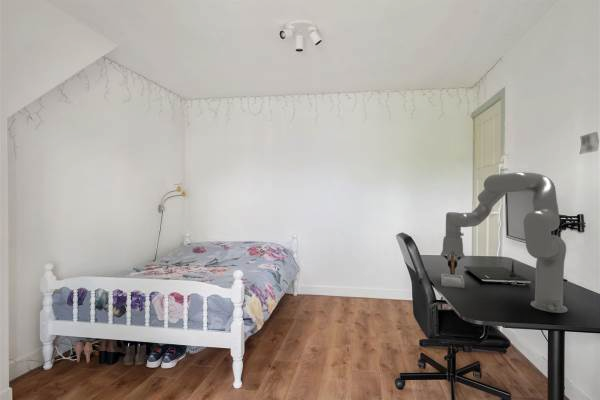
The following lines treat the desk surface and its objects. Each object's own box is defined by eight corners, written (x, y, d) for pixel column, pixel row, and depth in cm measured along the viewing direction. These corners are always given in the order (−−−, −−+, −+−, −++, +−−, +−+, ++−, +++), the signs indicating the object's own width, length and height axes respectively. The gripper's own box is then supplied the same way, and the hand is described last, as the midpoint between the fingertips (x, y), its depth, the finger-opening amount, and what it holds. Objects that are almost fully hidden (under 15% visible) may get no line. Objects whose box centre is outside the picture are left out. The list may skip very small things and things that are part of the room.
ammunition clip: (454, 275, 175) (455, 252, 175) (450, 274, 176) (451, 252, 176) (453, 270, 185) (454, 249, 185) (450, 270, 186) (450, 249, 186)
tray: (464, 288, 170) (464, 283, 170) (441, 285, 175) (441, 281, 175) (462, 279, 187) (462, 275, 187) (441, 277, 191) (441, 273, 191)
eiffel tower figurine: (498, 284, 180) (498, 259, 180) (495, 279, 190) (495, 256, 190) (530, 287, 175) (531, 262, 174) (525, 282, 184) (526, 258, 184)
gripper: (468, 234, 180) (467, 268, 181) (437, 233, 187) (436, 265, 187) (469, 236, 173) (468, 271, 174) (437, 234, 180) (436, 268, 180)
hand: (452, 267), depth 181 cm, fingers closed on ammunition clip, 2 cm apart
